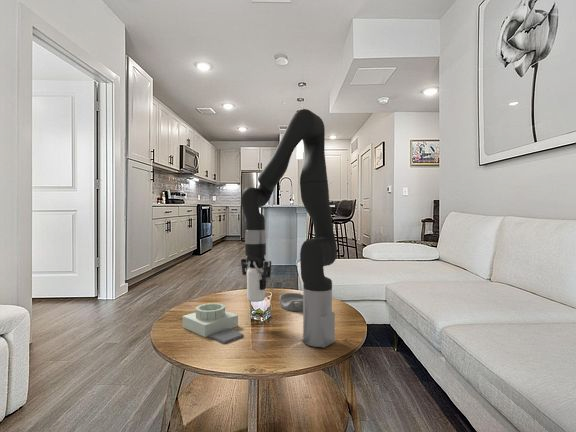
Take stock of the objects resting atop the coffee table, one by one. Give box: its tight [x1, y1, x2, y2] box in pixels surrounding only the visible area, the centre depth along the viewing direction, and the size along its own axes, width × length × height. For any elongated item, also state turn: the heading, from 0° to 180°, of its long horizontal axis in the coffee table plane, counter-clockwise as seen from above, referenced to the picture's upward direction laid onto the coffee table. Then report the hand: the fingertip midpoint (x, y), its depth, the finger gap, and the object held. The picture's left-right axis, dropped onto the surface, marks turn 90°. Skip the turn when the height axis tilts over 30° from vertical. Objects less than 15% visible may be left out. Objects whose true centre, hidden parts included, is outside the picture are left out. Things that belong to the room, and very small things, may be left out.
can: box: [246, 267, 266, 303], centre depth 114 cm, size 6×6×12 cm
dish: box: [279, 292, 303, 312], centre depth 137 cm, size 14×14×5 cm
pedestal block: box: [182, 302, 239, 338], centre depth 113 cm, size 14×14×7 cm
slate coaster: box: [208, 328, 245, 345], centre depth 103 cm, size 8×8×1 cm
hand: (256, 288), depth 114 cm, fingers closed on can, 6 cm apart
